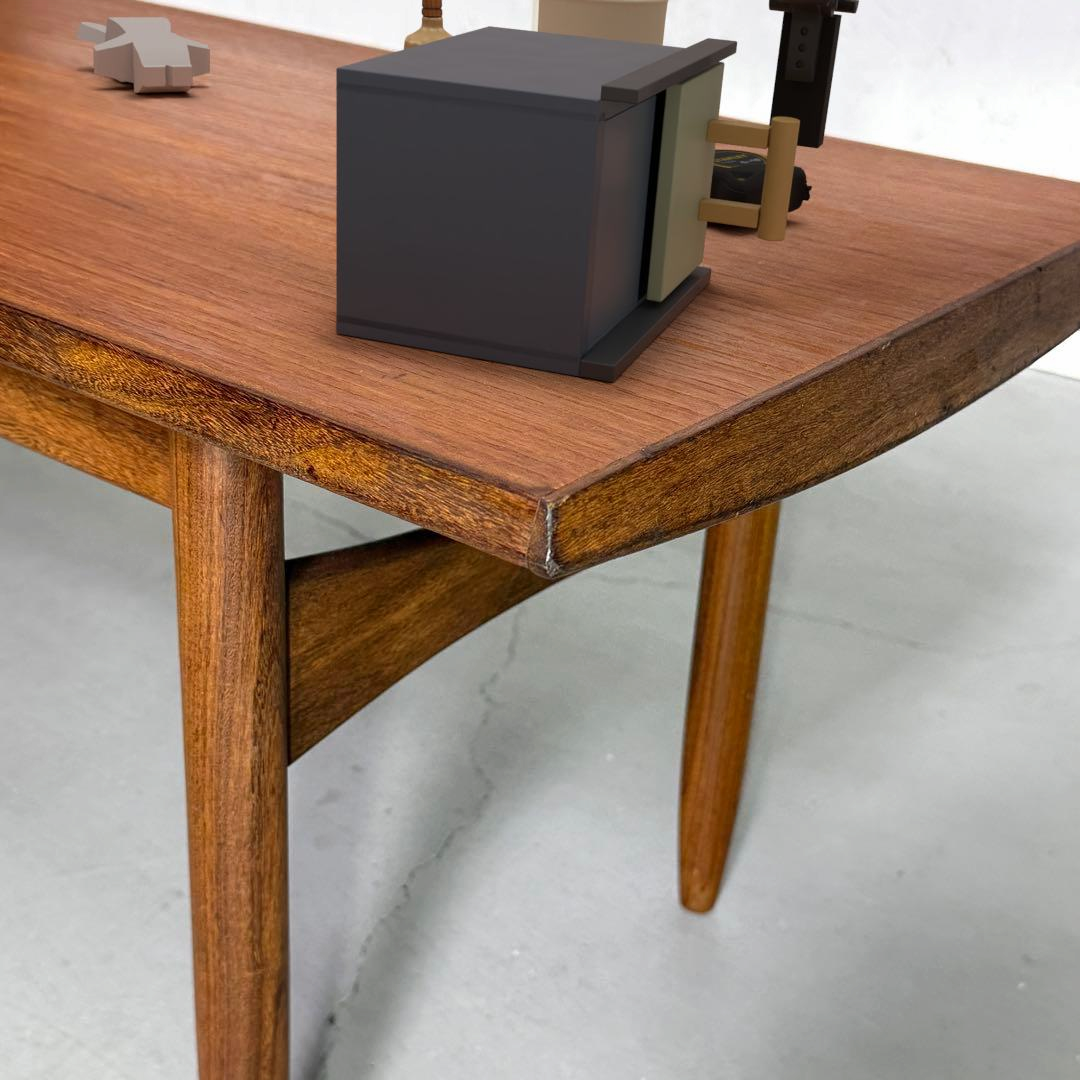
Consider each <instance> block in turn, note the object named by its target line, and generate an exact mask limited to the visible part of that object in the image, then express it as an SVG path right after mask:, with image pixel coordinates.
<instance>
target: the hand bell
mask: <svg viewBox="0 0 1080 1080" xmlns="http://www.w3.org/2000/svg"><path fill="white" fill-rule="evenodd" d="M421 7H422V8H421V15H422V17H421V26H420V27H419V28H418V29H417V30H416V31H414V32H412V33H410V34H407V36H406V37H405V39H404V43H403V50H404V49H408V48H412V47H415V46H419V45H423V44H426V43H430V42H434V41H437V40H441V39H445V38H448V37H452V36H453V35H452V34H451V33H449V32H448V31H446V29H445V27H444V19H443V8H442V7H443V0H421Z"/></svg>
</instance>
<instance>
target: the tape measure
mask: <svg viewBox="0 0 1080 1080" xmlns="http://www.w3.org/2000/svg"><path fill="white" fill-rule="evenodd" d="M766 161H767V154H766V155H765V154H762V153H758V152H752V151H745V150H738V149H725V148H723V149H720V148H719V149H717V148H715V155H714V164H713V173H712V182H711V191H710V198H712V199H719V200H727V201H734V202H741V203H748V204H755V205H761V200H762V192H763V184H764V176H765V169H766ZM812 189H813V186H812V185H808V179H807V175H806V172H805V170H804V169H803V168H802V167H800V166H797V165H794V170H793V178H792V185H791V193H790V200H789V207H788V214H789V213H792V212H795V211H797V210H799V209H800V208H801V206H802V205H803V202H804V201H805V202H808V201H809V200H810V198H811V194H810V191H812Z"/></svg>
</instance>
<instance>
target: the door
mask: <svg viewBox="0 0 1080 1080" xmlns="http://www.w3.org/2000/svg"><path fill="white" fill-rule="evenodd" d="M724 73H725V62H724V61H719V62H717V63H716V64H714V65H712V66H710V67H708V68H706V69H704V70H702V71H700V72H698V73H696V74H694V75H692V76H690V77H688V78H686V79H684V80H683V81H681V82H679V83H677V84H675V85H673V86H671V87H669V88H667V89H666V96H665V107H664V118H663V128H662V139H661V149H660V160H659V170H658V181H657V191H656V202H655V213H654V223H653V234H652V244H651V255H650V265H649V276H648V287H647V297H646V298H647V300H652V301H658V302H661V301H662V300H663V299H665V298H666V297H667V296H668V295H669V294H670V293H671V292H672V291H673V290H674V289H675V288H676V287H677V286H678V285H679V284H680V283H681V282H682V281H683V280H684V279H685V278H686V277H687V276H688V275H689V274H690V273H691V272H692V271H693V270H694V269H696V268H697V267H698V266H700V265H701V264H702V263H703V262H704V253H705V252H704V251H705V245H706V236H707V226H708V222H709V223H716V224H722V225H723V224H724V225H730V226H738V227H742V228H743V227H745V228H752V229H757V233H756V237H757V238H758V239H759V240H762V241H767V242H781V241H784V240H785V236H786V229H787V221H788V214H789V213H788V207H789V200H790V193H791V185H792V178H793V170H794V166H795V162H796V155H797V149H798V146H797V140H798V133H799V126H800V120H798V119H796V118H791V117H773V118H772V121H771V126H769V124H768V125H767V124H759V123H751V122H744V121H743V122H742V121H734V120H727V119H720V110H721V109H720V108H721V100H722V91H723V81H724ZM717 144H723V145H730V146H737V147H745V148H753V149H761V150H767V154H766V156H767V161H766V169H765V176H764V184H763V192H762V200H761V205H755V204H748V203H741V202H734V201H727V200H719V199H712V198H710V191H711V182H712V173H713V164H714V155H715V149H716V145H717Z"/></svg>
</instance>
